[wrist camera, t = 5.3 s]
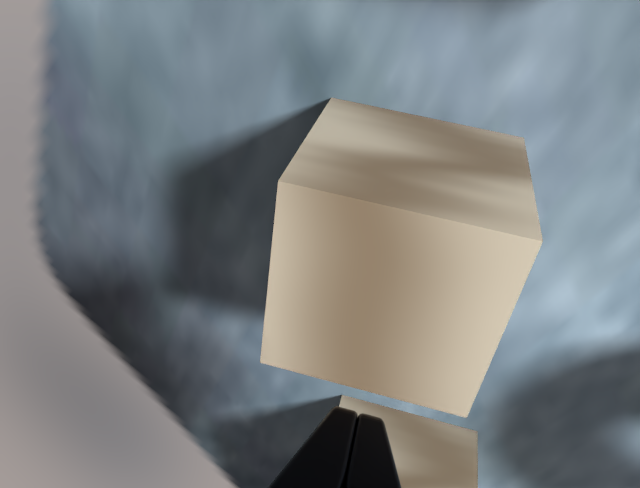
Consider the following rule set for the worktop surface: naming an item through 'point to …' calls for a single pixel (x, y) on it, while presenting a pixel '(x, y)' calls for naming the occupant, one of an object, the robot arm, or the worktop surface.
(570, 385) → the worktop surface
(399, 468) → the one stroke block
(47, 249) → the worktop surface
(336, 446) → the robot arm
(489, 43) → the worktop surface
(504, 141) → the plain block
